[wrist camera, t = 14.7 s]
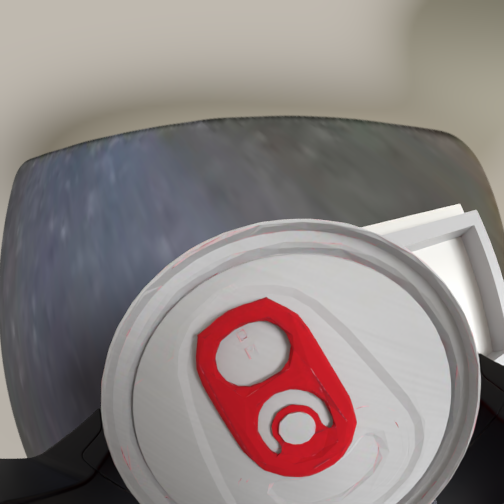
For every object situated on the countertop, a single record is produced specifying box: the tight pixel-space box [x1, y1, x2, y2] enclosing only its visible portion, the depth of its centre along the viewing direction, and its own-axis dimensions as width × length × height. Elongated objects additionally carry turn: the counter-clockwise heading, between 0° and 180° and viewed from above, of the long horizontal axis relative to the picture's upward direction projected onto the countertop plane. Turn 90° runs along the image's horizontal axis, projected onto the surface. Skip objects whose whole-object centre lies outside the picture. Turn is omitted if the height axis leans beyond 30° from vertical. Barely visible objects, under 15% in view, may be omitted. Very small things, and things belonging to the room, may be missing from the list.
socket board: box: [361, 204, 504, 366], centre depth 14 cm, size 14×22×3 cm, turn 102°
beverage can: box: [101, 219, 481, 504], centre depth 8 cm, size 6×6×12 cm
